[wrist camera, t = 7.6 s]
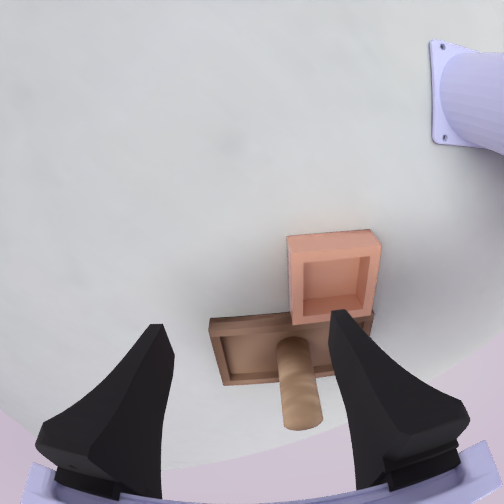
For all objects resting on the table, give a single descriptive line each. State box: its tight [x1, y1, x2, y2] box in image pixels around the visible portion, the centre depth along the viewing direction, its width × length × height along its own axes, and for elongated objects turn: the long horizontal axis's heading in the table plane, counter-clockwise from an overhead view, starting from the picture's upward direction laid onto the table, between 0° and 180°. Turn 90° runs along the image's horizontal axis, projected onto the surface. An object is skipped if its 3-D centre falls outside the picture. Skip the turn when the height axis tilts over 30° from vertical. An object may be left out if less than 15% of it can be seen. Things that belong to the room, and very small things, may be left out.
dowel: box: [276, 336, 323, 431], centre depth 23 cm, size 3×3×8 cm
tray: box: [208, 310, 374, 386], centre depth 27 cm, size 14×8×2 cm, turn 95°
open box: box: [287, 229, 382, 325], centre depth 22 cm, size 6×6×2 cm
